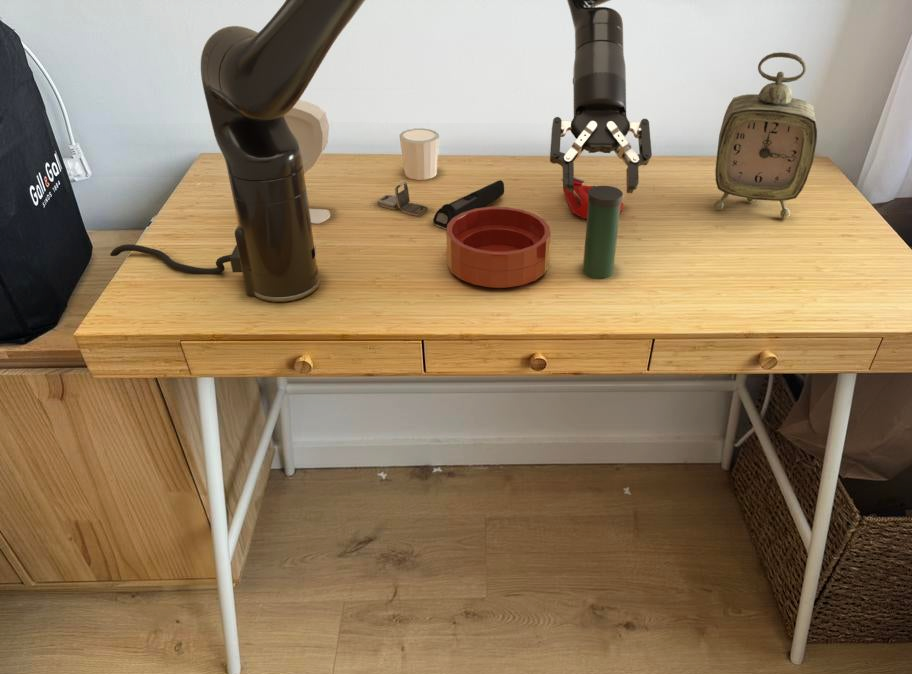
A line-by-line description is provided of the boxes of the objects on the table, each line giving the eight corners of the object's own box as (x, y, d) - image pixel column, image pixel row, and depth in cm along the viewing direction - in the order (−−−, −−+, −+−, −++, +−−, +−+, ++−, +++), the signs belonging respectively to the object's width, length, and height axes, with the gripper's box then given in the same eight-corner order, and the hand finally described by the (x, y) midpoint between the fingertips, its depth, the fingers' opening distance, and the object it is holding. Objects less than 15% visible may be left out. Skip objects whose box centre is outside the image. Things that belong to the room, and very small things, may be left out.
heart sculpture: (235, 218, 128) (212, 104, 118) (245, 205, 132) (224, 93, 122) (332, 224, 128) (318, 109, 117) (339, 210, 132) (327, 98, 121)
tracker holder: (632, 196, 136) (617, 205, 127) (622, 220, 138) (606, 231, 129) (568, 166, 138) (549, 174, 130) (559, 190, 140) (539, 199, 132)
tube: (583, 279, 116) (590, 199, 109) (580, 263, 120) (586, 185, 112) (615, 279, 116) (625, 200, 109) (612, 263, 120) (620, 185, 113)
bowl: (445, 292, 112) (444, 253, 109) (449, 242, 124) (448, 205, 120) (550, 293, 113) (553, 254, 109) (545, 243, 124) (547, 207, 121)
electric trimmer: (510, 200, 137) (510, 182, 135) (449, 231, 127) (449, 212, 125) (492, 194, 139) (493, 176, 137) (431, 224, 129) (430, 205, 127)
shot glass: (398, 167, 146) (395, 129, 142) (435, 164, 148) (434, 126, 143) (405, 183, 141) (403, 143, 136) (444, 179, 142) (443, 140, 138)
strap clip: (375, 205, 134) (373, 181, 131) (386, 198, 136) (384, 174, 133) (419, 217, 130) (417, 192, 128) (429, 210, 133) (428, 185, 130)
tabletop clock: (705, 213, 134) (734, 56, 119) (708, 191, 141) (736, 39, 126) (796, 224, 131) (838, 65, 116) (794, 201, 138) (833, 48, 123)
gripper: (552, 69, 113) (552, 180, 111) (653, 70, 114) (656, 182, 112) (548, 95, 121) (548, 200, 119) (643, 96, 121) (645, 201, 119)
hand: (600, 191), depth 115 cm, fingers open, 8 cm apart
